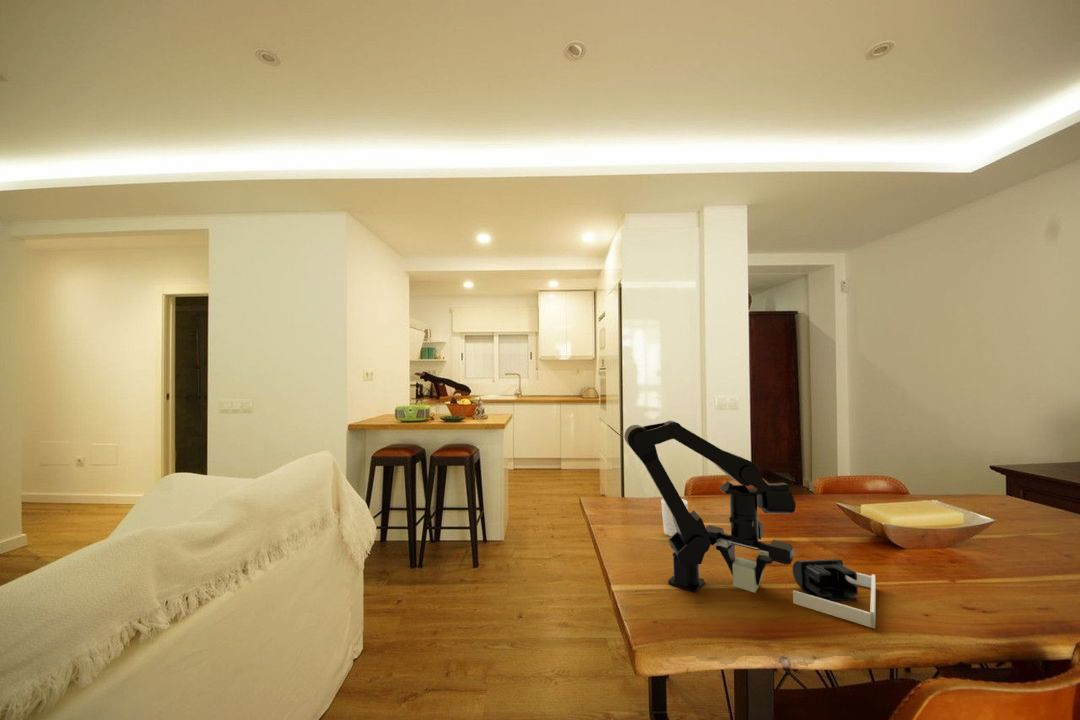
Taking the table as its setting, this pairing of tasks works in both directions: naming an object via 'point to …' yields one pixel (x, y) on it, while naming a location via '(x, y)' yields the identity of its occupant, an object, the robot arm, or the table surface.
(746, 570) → the block
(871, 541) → the table surface
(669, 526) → the white cup
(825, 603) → the white u-shaped frame
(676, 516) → the robot arm
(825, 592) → the end cap
